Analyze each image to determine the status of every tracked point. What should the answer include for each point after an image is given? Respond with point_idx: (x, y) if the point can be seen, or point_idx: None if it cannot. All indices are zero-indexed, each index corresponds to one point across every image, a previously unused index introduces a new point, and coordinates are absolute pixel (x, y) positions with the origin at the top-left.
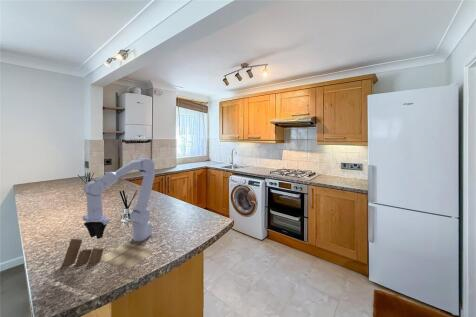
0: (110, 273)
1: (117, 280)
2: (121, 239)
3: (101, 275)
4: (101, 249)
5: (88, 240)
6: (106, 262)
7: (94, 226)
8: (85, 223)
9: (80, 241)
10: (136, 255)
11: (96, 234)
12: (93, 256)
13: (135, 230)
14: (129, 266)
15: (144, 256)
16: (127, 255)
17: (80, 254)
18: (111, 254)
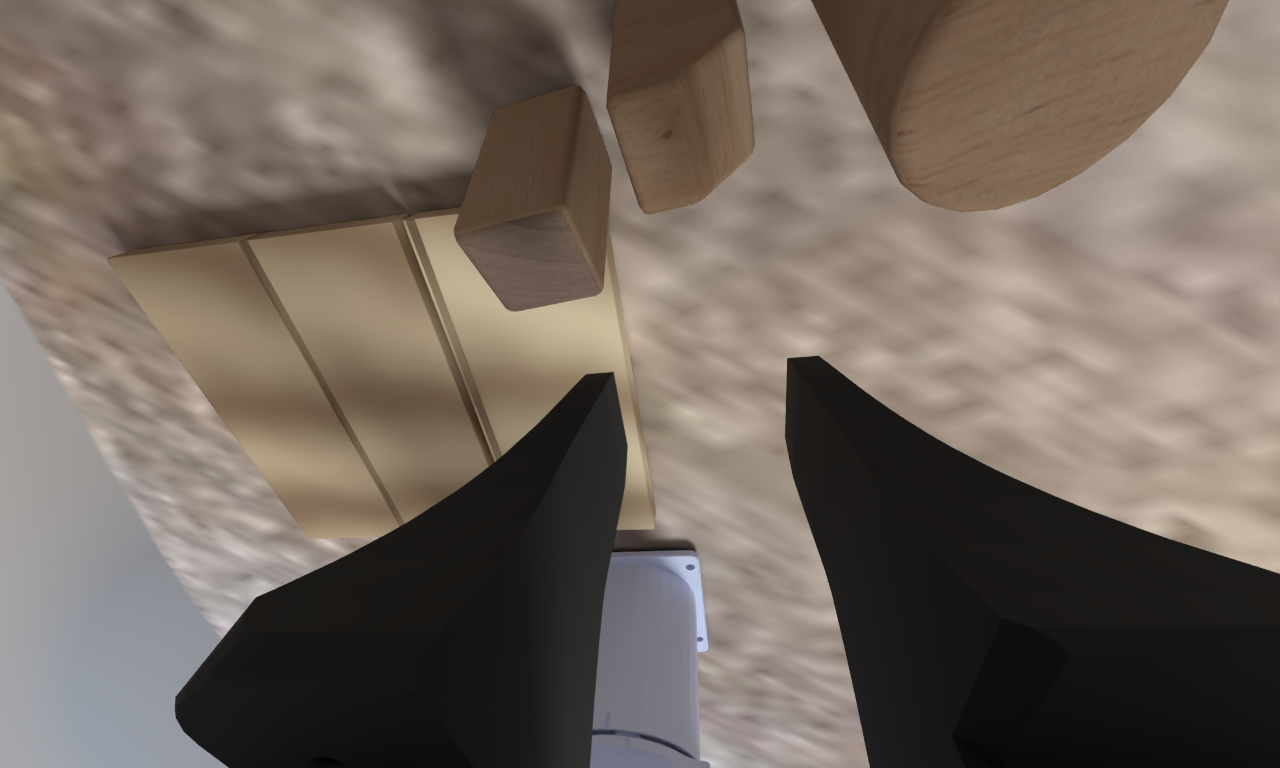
0: (217, 136)
1: (23, 96)
2: (809, 551)
3: (234, 51)
4: (488, 282)
5: (1192, 426)
6: (408, 219)
7: (327, 621)
8: (1244, 686)
9: (881, 120)
10: (337, 433)
11: (565, 420)
12: (514, 150)
13: (600, 678)
14: (158, 292)
15: (269, 450)
16: (400, 401)
17: (699, 24)
18: (548, 345)
